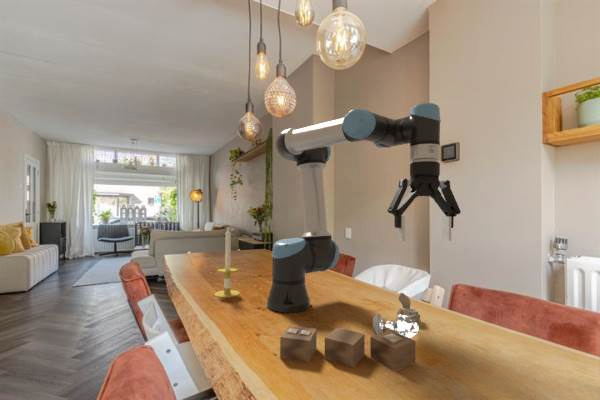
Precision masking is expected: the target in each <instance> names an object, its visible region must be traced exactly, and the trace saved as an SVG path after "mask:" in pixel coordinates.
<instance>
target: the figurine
mask: <svg viewBox="0 0 600 400" xmlns="http://www.w3.org/2000/svg"><path fill="white" fill-rule="evenodd" d="M400 316H402V317H400ZM414 316H416V314H413V315H409V314H408V315H406V314H405V315H401V314H399V315H398V316H397V317H396V318H395V320H394V321H391V320H387V321H386V322H385V323H384V322H383V319H382V316H381V314H380V313H377V314H375V316H374V317H373V318H372V328H373V330H374V331H375V332H374V333H376V335H377V334H380V333H383V331H384V330H386V329H387V331H390V330H391V331H394V332H396V333H398V334H401V335H403V336H406V337H408V338H410V339H412V338H413V337H414V336H415V335H417V334H418V333H419V330H420V329H419V328H420V326H419V323H418V324H417V323H416V322H415V321H416V320H417V319H414V320H409V318H411V317H414Z"/></svg>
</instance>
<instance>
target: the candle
mask: <svg viewBox="0 0 600 400" xmlns="http://www.w3.org/2000/svg"><path fill="white" fill-rule="evenodd" d="M231 236H232V233H231V232H230V229H229V227H227V230H226V232H225V236H224V237H225V239H224V241H225V243H224V245H225V246H224V267H219V268H217V269H216V272H217V273H223V274H224V275H223V276H224V277H223V278H224V279H223V283H224V284H223V288H224V289H223V290H219V291H217V292H215V293H214V297H215V298H221V299H222V298H223V299H226V298H227V299H228V298H235V297H238V296H239V295H241V292H240V291H238V290H235V289H231V288H232V287H231V286H232V285H231V281H232V280H231V279H232V278H231V277H232V274H231V273H235V272H238V271H239V268H238V267H235V266H234V267H233V266H232V267H231V253H232V251H231V250H232V249H231V248H232V247H231V246H232V245H231V244H232V243H231V241H232V240H231V239H232V237H231Z"/></svg>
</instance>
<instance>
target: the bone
mask: <svg viewBox="0 0 600 400" xmlns="http://www.w3.org/2000/svg"><path fill="white" fill-rule="evenodd" d="M398 302H400V304H401V305H402V308H400V307H399V309H398V311H397V313H396V314H397V317H398V315H399V314H401V315H405V314H406V315H408V314H409V315H413V314H416V316H414V317H411V318H409V320H414V319H417V320H416V321H415V322H416V323H417V324H418V325H419V324H421V319H420V318H421V315H420V313H419V311H417V310H416V308H415V309H414V308H413V309H412V308H411V304H412V303H411V299H410V298H409V296H408V295H406V294H405V293H403V292H400V293H399V295H398ZM400 317H402V316H400Z"/></svg>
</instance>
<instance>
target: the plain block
mask: <svg viewBox="0 0 600 400" xmlns="http://www.w3.org/2000/svg"><path fill="white" fill-rule="evenodd" d="M365 337H366V336H365V333H361V332H358V331H353V330H349V329H345V328H341V327H336V328H335V329H334V330H332V331H331V332H330V333H329V334H328V335H326V336H325V337H324V359H325V360H326V361H330V362H334V363H337V364H340V365H342V366H347V367H350V368H355V367H356V365H357V364H358V363H359V362H360V360H362V358H363V357H364V356H365Z"/></svg>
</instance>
